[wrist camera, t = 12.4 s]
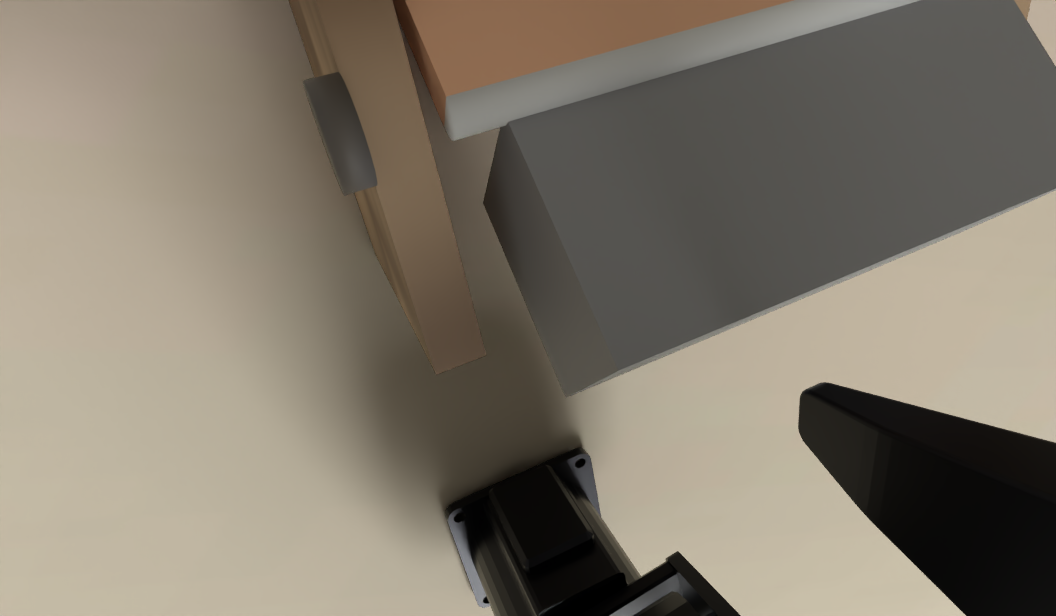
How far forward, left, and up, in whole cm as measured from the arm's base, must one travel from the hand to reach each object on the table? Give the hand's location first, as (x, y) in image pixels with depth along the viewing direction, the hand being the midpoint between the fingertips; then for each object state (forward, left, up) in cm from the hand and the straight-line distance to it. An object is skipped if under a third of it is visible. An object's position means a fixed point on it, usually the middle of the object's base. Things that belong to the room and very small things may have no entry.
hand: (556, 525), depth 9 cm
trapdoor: (+4, -8, -10) cm, 13 cm away
